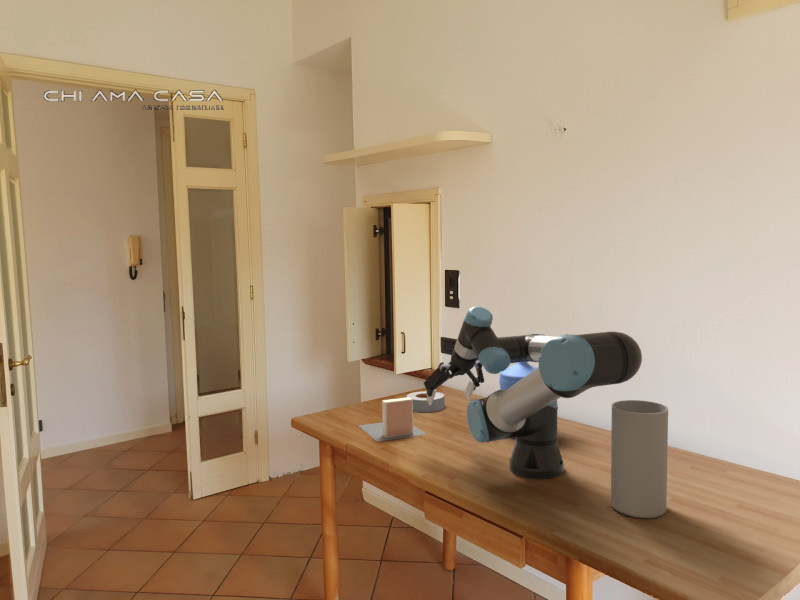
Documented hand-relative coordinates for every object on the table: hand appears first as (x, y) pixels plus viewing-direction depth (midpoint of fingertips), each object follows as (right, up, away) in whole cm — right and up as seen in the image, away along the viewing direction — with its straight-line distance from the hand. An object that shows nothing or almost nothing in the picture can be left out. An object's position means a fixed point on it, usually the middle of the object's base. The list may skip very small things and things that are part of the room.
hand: (448, 399), depth 194 cm
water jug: (+27, -14, +14) cm, 33 cm away
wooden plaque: (-16, -14, +13) cm, 25 cm away
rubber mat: (-18, -14, +19) cm, 30 cm away
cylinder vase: (+42, -19, -47) cm, 66 cm away
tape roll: (-5, -12, +50) cm, 52 cm away
